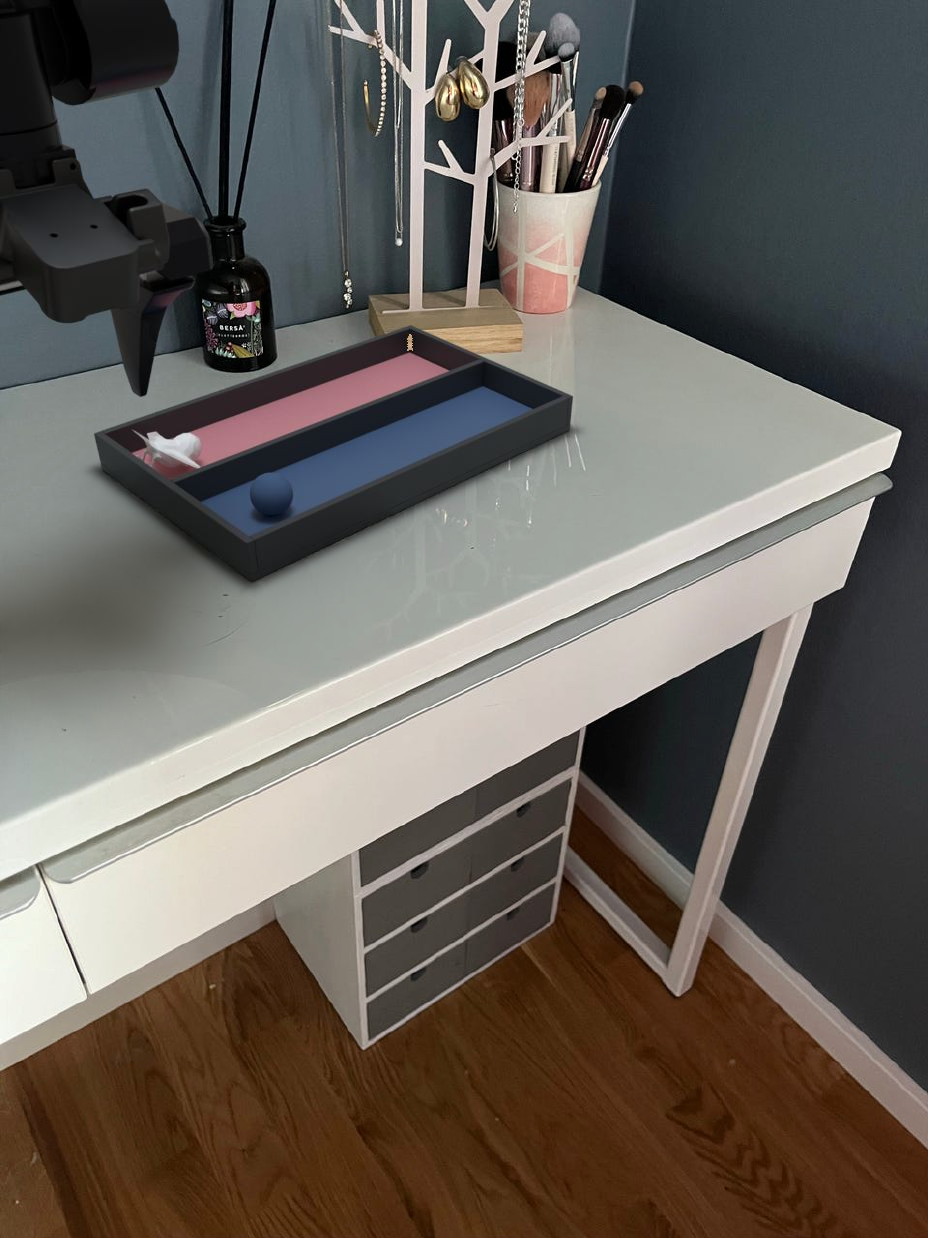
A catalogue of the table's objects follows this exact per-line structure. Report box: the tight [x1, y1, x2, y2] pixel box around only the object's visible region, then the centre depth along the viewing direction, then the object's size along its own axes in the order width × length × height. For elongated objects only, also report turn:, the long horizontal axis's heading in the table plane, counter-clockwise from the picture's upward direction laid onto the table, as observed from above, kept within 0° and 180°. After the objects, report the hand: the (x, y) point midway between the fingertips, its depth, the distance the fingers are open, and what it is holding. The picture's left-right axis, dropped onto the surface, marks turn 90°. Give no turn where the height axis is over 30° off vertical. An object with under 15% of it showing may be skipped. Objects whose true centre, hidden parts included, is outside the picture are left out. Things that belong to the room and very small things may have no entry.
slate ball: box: [250, 473, 293, 516], centre depth 70 cm, size 3×3×3 cm
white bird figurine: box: [133, 430, 202, 468], centre depth 73 cm, size 8×5×5 cm, turn 41°
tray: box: [93, 324, 574, 583], centre depth 79 cm, size 32×20×3 cm, turn 134°
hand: (68, 417), depth 57 cm, fingers open, 9 cm apart
